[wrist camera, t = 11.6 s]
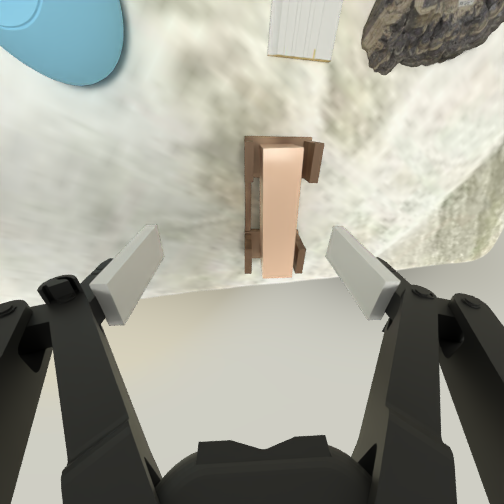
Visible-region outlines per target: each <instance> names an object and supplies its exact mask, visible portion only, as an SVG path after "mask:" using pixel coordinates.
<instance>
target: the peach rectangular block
mask: <svg viewBox="0 0 504 504" xmlns="http://www.w3.org/2000/svg"><path fill="white" fill-rule="evenodd" d="M303 154H304V147H301V146H298V145H294V144H260V145H259V157H260V260H261V268H262V277H263V278H290V277H292V269H293V259H294V248H295V238H296V227H297V217H298V206H299V196H300V185H301V175H302V164H303Z"/></svg>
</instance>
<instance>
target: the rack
mask: <svg viewBox="0 0 504 504" xmlns="http://www.w3.org/2000/svg"><path fill="white" fill-rule="evenodd" d="M260 144H294V145H298V146H301V147H304V154H303V164H302V175H301V178H304V179H305V180H306V181H308V182H309V183H318V178H319V172H320V166H321V160H322V155H323V149H324V143H319V142H314V141H312V137H270V136H245V274H251V270H252V258H260V229H251V182H253V177H257V178H260V157H259V145H260ZM305 252H306V249H305V247H304V245H303V243H302V241H301V239H300V237H299V235H298V230H297V229H296V238H295V248H294V259H293V268H294V271H295V273H302V270H303V264H304V258H305Z"/></svg>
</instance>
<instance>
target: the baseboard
mask: <svg viewBox="0 0 504 504" xmlns="http://www.w3.org/2000/svg"><path fill="white" fill-rule="evenodd" d="M342 3H343V0H272V6H271V18H270V29H269V41H268V53H267V56H276V57H285V58H294V59H303V60H312V61H321V62H330V61H331V57H332V53H333V48H334V43H335V38H336V33H337V28H338V23H339V18H340V13H341V8H342Z"/></svg>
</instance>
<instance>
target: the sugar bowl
mask: <svg viewBox="0 0 504 504" xmlns="http://www.w3.org/2000/svg"><path fill="white" fill-rule="evenodd" d="M0 46H1V47H3V48H4V49H5V50H6V51H7V52H9V53H10V54H11V55H13V56H14V57H15V58H17V59H18V60H19V61H21V62H22V63H24V64H26V65H27V66H29V67H30V68H32V69H34V70H35V71H37V72H39V73H41V74H43V75H45V76H47V77H49V78H51V79H54V80H57V81H60V82H63V83H66V84H71V85H80V86H84V85H91V84H94V83H97V82H99V81H101V80H103V79H104V78H105V77H107V76H108V75H109V74H110V73H111V72H112V71H113V69H114V68H115V66H116V64H117V63H118V60H119V58H120V55H121V51H122V46H123V17H122V11H121V6H120V1H119V0H0Z"/></svg>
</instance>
